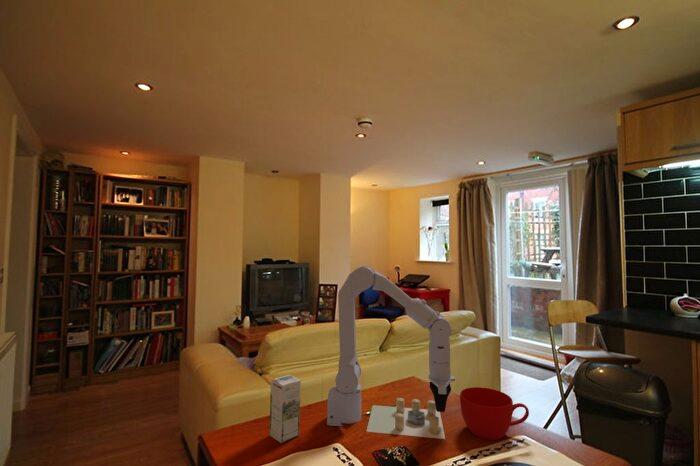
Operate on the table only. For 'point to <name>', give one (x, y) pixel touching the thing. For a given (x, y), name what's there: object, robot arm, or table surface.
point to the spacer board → (406, 420)
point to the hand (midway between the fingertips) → (440, 410)
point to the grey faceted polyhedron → (416, 417)
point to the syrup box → (284, 408)
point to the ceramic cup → (488, 412)
